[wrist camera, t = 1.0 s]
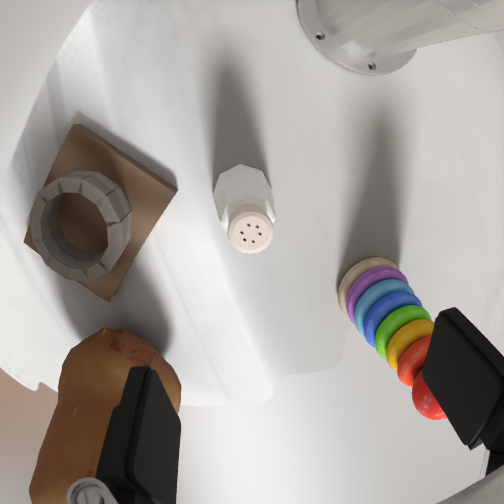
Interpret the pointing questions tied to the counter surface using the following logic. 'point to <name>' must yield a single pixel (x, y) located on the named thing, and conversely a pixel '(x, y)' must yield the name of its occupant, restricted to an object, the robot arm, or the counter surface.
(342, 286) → the stacking toy
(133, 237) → the shaft housing
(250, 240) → the pepper shaker
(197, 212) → the counter surface
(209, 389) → the counter surface
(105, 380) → the butternut squash
